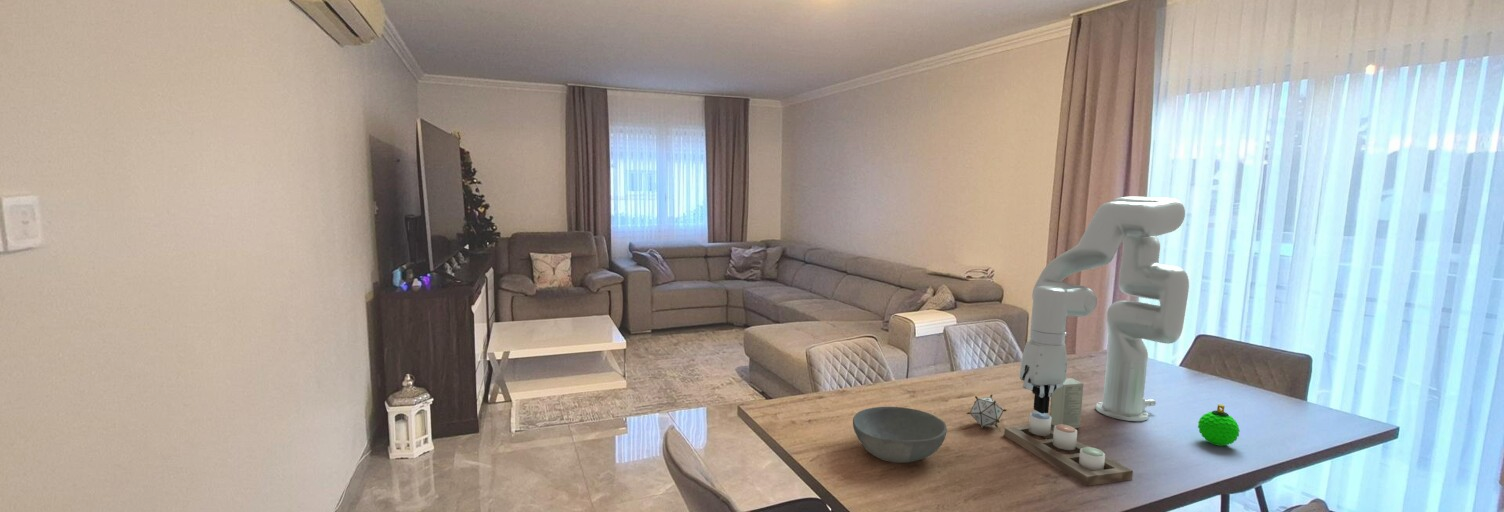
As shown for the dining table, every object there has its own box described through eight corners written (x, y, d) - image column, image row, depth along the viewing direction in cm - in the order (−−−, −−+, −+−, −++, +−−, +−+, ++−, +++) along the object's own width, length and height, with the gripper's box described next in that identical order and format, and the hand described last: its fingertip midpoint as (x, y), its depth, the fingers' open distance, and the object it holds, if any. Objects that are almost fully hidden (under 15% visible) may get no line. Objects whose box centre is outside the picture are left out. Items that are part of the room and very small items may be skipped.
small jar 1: (1040, 427, 151) (1041, 410, 151) (1054, 434, 147) (1056, 417, 146) (1024, 428, 150) (1025, 412, 150) (1038, 436, 146) (1039, 419, 145)
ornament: (1188, 440, 152) (1193, 401, 151) (1208, 435, 155) (1213, 397, 154) (1224, 453, 145) (1229, 413, 143) (1245, 448, 148) (1250, 409, 147)
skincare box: (1068, 421, 162) (1072, 377, 161) (1080, 428, 158) (1084, 383, 156) (1047, 423, 161) (1051, 378, 159) (1059, 430, 156) (1063, 384, 155)
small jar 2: (1064, 440, 144) (1066, 422, 143) (1080, 449, 139) (1082, 431, 139) (1047, 442, 143) (1049, 424, 142) (1063, 450, 138) (1064, 432, 137)
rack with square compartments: (1044, 431, 155) (1044, 423, 155) (1132, 479, 130) (1133, 470, 130) (1004, 435, 152) (1004, 427, 152) (1086, 485, 127) (1087, 476, 127)
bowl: (929, 486, 125) (931, 449, 124) (835, 460, 136) (837, 426, 135) (954, 449, 143) (956, 417, 142) (870, 429, 154) (872, 398, 153)
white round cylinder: (1091, 463, 136) (1092, 445, 136) (1108, 473, 132) (1110, 454, 131) (1073, 465, 135) (1075, 447, 135) (1090, 475, 131) (1092, 456, 130)
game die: (991, 442, 156) (1011, 422, 150) (960, 428, 158) (977, 407, 151) (994, 416, 163) (1012, 395, 156) (964, 402, 164) (981, 381, 158)
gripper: (1061, 332, 151) (1054, 403, 153) (1010, 335, 147) (1004, 407, 149) (1085, 340, 144) (1077, 414, 146) (1032, 343, 140) (1025, 419, 142)
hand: (1040, 411), depth 148 cm, fingers closed
